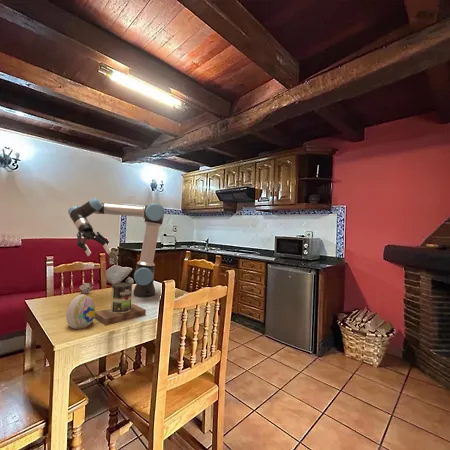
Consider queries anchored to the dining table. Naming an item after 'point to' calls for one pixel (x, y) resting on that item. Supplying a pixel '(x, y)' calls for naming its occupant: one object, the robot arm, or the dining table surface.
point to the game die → (85, 288)
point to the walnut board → (118, 315)
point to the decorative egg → (80, 312)
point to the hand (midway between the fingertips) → (100, 253)
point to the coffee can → (121, 298)
